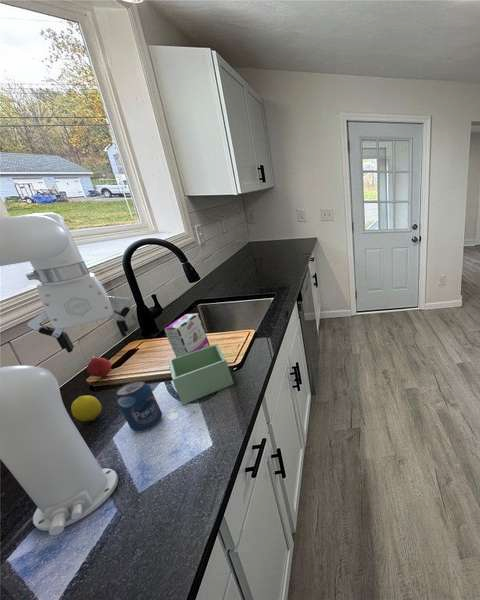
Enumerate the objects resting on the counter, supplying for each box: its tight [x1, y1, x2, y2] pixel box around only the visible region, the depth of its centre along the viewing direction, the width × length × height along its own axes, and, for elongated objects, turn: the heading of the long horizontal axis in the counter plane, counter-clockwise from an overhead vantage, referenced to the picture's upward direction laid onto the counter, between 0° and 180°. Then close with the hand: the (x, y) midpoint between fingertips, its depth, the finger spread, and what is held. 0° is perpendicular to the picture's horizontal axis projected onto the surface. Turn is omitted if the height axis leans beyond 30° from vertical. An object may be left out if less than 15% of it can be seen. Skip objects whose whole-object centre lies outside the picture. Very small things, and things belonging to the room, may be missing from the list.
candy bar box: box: [163, 312, 211, 358], centre depth 108 cm, size 11×5×16 cm, turn 179°
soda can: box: [115, 379, 163, 433], centre depth 81 cm, size 7×7×12 cm
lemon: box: [70, 395, 102, 422], centre depth 85 cm, size 6×6×8 cm
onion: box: [86, 355, 112, 378], centre depth 104 cm, size 6×6×8 cm
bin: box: [167, 343, 235, 406], centre depth 97 cm, size 14×14×9 cm
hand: (98, 342), depth 74 cm, fingers open, 9 cm apart
